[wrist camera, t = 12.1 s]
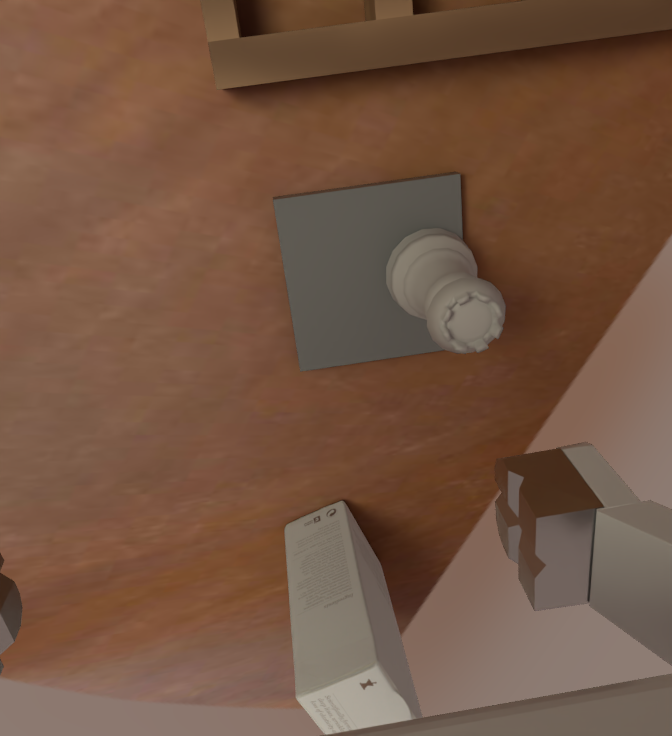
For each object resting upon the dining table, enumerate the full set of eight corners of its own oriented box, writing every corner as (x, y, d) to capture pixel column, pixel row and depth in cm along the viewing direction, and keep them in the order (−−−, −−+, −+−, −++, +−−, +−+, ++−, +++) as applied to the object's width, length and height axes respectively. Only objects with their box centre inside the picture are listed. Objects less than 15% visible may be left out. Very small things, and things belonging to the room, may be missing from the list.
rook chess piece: (488, 254, 32) (551, 303, 25) (438, 326, 33) (484, 394, 26) (416, 208, 31) (460, 247, 24) (367, 286, 32) (394, 344, 25)
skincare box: (280, 524, 39) (284, 700, 28) (347, 494, 38) (377, 660, 27) (325, 592, 41) (344, 777, 30) (388, 564, 41) (430, 742, 30)
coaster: (273, 197, 31) (273, 199, 30) (455, 171, 31) (460, 173, 30) (299, 365, 35) (300, 371, 34) (462, 341, 35) (466, 346, 34)
